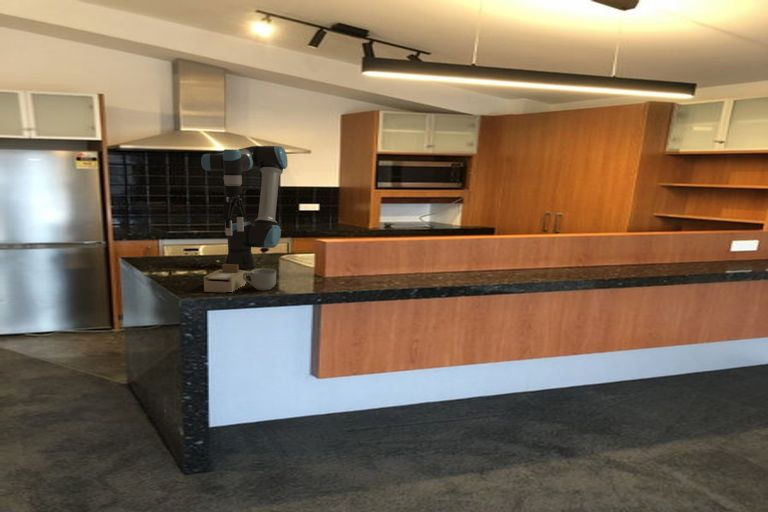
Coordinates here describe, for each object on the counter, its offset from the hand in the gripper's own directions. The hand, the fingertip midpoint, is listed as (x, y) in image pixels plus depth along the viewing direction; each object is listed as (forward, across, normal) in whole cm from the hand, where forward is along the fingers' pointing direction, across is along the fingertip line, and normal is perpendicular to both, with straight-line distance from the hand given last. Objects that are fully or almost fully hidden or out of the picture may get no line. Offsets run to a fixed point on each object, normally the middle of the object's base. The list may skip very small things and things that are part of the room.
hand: (234, 233), depth 235 cm
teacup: (+22, +11, +15) cm, 29 cm away
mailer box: (+22, +12, 0) cm, 25 cm away
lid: (+17, +12, 0) cm, 21 cm away
